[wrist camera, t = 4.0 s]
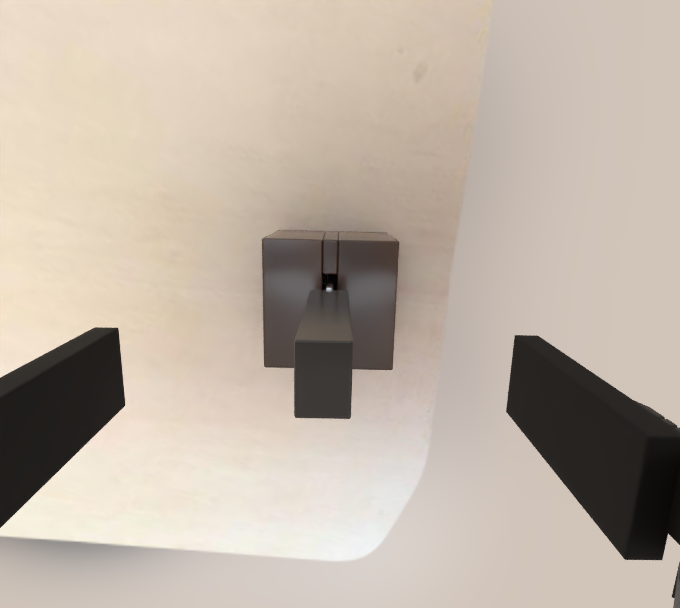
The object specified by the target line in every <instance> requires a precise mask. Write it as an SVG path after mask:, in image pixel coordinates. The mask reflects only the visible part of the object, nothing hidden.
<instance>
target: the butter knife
mask: <svg viewBox="0 0 680 608" xmlns="http://www.w3.org/2000/svg"><path fill="white" fill-rule="evenodd" d="M352 360H353V338H352V327H351V317H350V307H349V296H348V291H347V290H334V274H328V278H327V285H326V290H310V293H309V296H308V299H307V303H306V306H305V309H304V312H303V316H302V319H301V322H300V325H299V328H298V332H297V335H296V338H295V341H294V416H295V418H335V419H350V418H351V393H352Z"/></svg>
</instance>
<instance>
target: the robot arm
mask: <svg viewBox="0 0 680 608" xmlns="http://www.w3.org/2000/svg"><path fill="white" fill-rule="evenodd" d="M124 406H125V397H124V386H123V375H122V364H121V353H120V342H119V331H118V328H93V329H91V330H89V331H87V332H85V333H84V334H82V335H80V336H78V337H76V338H74V339H72V340H70V341H69V342H67V343H65V344H63V345H61V346H59V347H57V348H55V349H54V350H52V351H50V352H48V353H46V354H44V355H42V356H40V357H39V358H37V359H35V360H33V361H31V362H29V363H27V364H25V365H23V366H22V367H20V368H18V369H16V370H14V371H12V372H10V373H8V374H7V375H5V376H3V377H1V378H0V528H1V527H2V526H3V525H4V524H5V523H6V522H7V521H8V520H9V519H10V518H11V517H12V516H13V515H14V514H15V513H16V512H17V511H18V510H19V509H20V508H21V507H22V506H23V505H24V504H25V503H26V502H27V501H28V500H29V499H30V498H31V497H32V496H33V495H34V494H35V493H36V492H37V491H38V490H39V489H40V488H41V487H42V486H44V485H45V484H46V483H47V482H48V481H49V480H50V479H51V478H52V477H53V476H54V475H55V474H56V473H57V472H58V471H59V470H60V469H61V468H62V467H63V466H64V465H65V464H66V463H67V462H68V461H69V460H70V459H71V458H72V457H73V456H74V455H75V454H76V453H77V452H78V451H79V450H80V449H81V448H82V447H83V446H84V445H85V444H86V443H87V442H88V441H89V440H90V439H91V438H92V437H94V436H95V435H96V434H97V433H98V432H99V431H100V430H101V429H102V428H103V427H104V426H105V425H106V424H107V423H108V422H109V421H110V420H111V419H112V418H113V417H114V416H115V415H116V414H117V413H118V412H119V411H120V410H121V409H122V408H123V407H124ZM506 412H507V413H508V414H509V416H510V417H511V418H512V419H513V420H514V422H515V423H516V424H517V426H518V427H519V428H520V429H521V431H522V432H523V433H524V434H525V436H526V437H527V438H528V439H529V440H530V442H531V443H532V444H533V446H534V447H535V448H536V449H537V451H538V452H539V453H540V454H541V455H542V457H543V458H544V459H545V460H546V462H547V463H548V464H549V465H550V467H551V468H552V469H553V470H554V472H555V473H556V474H557V475H558V477H559V478H560V479H561V480H562V482H563V483H564V484H565V485H566V487H567V488H568V489H569V490H570V491H571V493H572V494H573V495H574V497H575V498H576V499H577V500H578V502H579V503H580V504H581V505H582V506H583V508H584V509H585V510H586V512H587V513H588V514H589V515H590V517H591V518H592V519H593V520H594V522H595V523H596V524H597V525H598V526H599V528H600V529H601V530H602V532H603V533H604V534H605V535H606V536H607V538H608V539H609V540H610V541H611V543H612V544H613V545H614V546H615V548H616V549H617V550H618V551H619V553H620V554H621V555H622V556H623V558H624V559H625V560H662V558H663V554H664V549H665V544H666V540H667V535H668V534H669V535H671V537H673V539H674V540H676V542H677V543H678V544H679V545H680V428H677V425H675V424H674V423H672V422H671V421H669V420H668V419H665V418H664V417H663V416H662V415H660V414H659V413H657V412H656V411H654V410H653V409H651V408H650V407H648V406H645V405H643V404H641V403H638V402H636V401H634V400H632V399H630V398H629V397H627V396H626V395H625V394H623V393H622V392H620V391H618V390H617V389H616V388H614V387H613V386H611V385H610V384H608V383H607V382H605V381H604V380H602V379H601V378H599V377H598V376H596V375H595V374H594V373H592V372H591V371H589V370H587V369H586V368H585V367H583V366H582V365H580V364H579V363H577V362H576V361H574V360H573V359H571V358H570V357H568V356H567V355H565V354H564V353H562V352H561V351H560V350H558V349H556V348H555V347H554V346H552V345H551V344H549V343H548V342H546V341H545V340H543V339H542V338H540V337H539V336H523V335H516V336H515V339H514V348H513V357H512V366H511V375H510V383H509V392H508V401H507V411H506ZM672 597H673V598H675V600H674V607H673V608H680V563H679V567H678V572H677V576H676V581H675V585H674V589H673V594H672Z"/></svg>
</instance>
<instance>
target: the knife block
mask: <svg viewBox="0 0 680 608" xmlns="http://www.w3.org/2000/svg"><path fill="white" fill-rule="evenodd" d="M398 253H399V241H397V240H396V239H395V238H393V237H392V236H390V235H389V234H388V233H380V232H339V233H338V232H334V231H327V232H325V231H289V230H278V231H276V232H274V233H272V234H270V235H268V236H266V237H265V238H263V239H262V269H263V329H264V366H265V367H277V368H294V341H295V338H296V335H297V332H298V328H299V325H300V322H301V319H302V316H303V312H304V309H305V306H306V303H307V299H308V296H309V293H310V290H325V274H337V273H338V282H337V290H347V291H348V296H349V307H350V317H351V327H352V338H353V360H352V369H368V370H392V369H393V350H394V331H395V311H396V292H397V272H398Z"/></svg>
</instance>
